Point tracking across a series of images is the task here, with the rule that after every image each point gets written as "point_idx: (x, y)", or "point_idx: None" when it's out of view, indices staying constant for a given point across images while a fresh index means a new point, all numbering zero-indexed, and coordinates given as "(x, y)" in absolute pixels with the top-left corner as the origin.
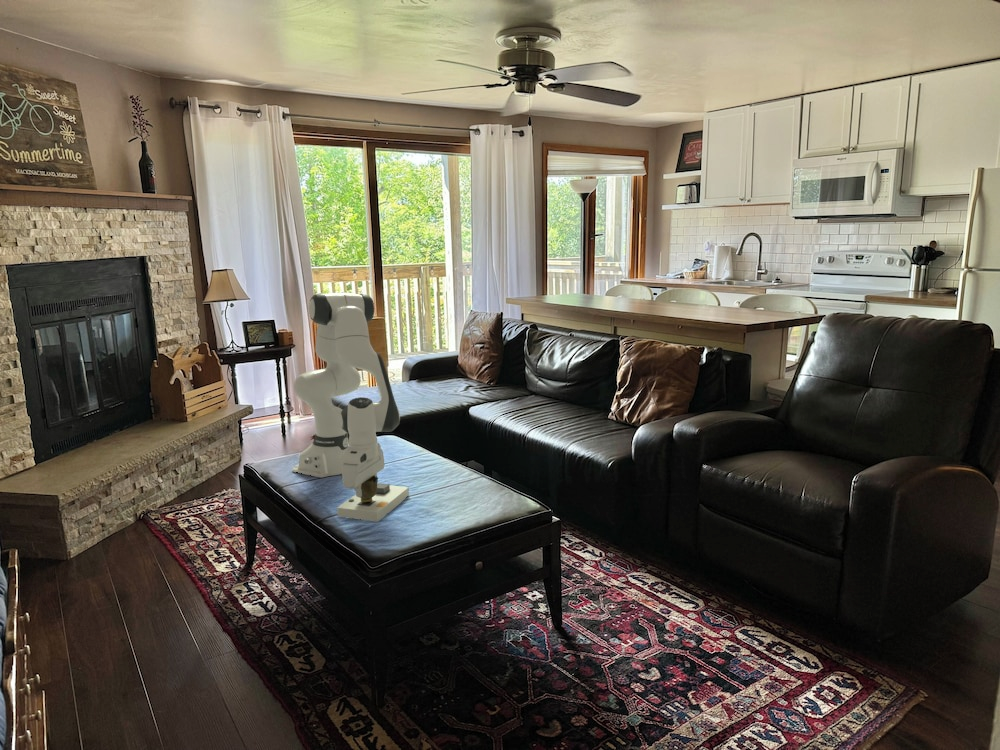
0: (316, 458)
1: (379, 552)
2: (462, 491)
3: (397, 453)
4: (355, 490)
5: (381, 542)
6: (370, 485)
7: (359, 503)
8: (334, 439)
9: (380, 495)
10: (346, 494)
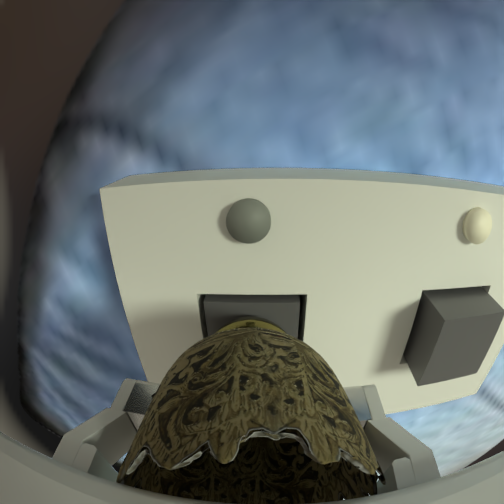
0: None
1: (48, 413)
2: (459, 445)
3: None
4: (97, 417)
5: (76, 413)
6: (194, 496)
7: (216, 308)
8: None
9: (387, 352)
10: (462, 52)
